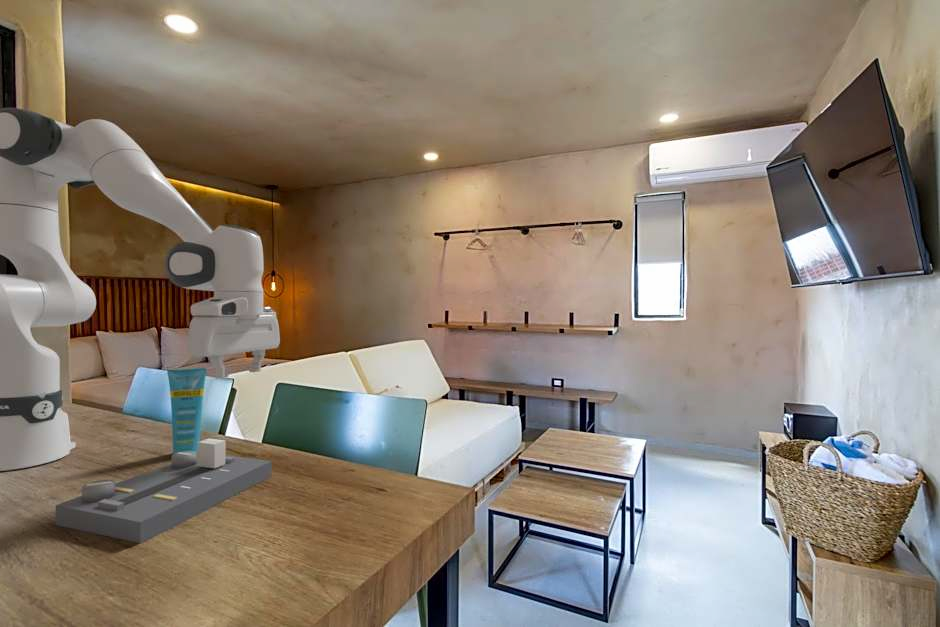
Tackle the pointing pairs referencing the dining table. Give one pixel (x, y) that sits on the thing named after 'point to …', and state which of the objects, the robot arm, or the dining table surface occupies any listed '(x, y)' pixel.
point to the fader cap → (211, 453)
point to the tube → (186, 407)
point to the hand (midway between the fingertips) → (239, 374)
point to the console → (158, 497)
